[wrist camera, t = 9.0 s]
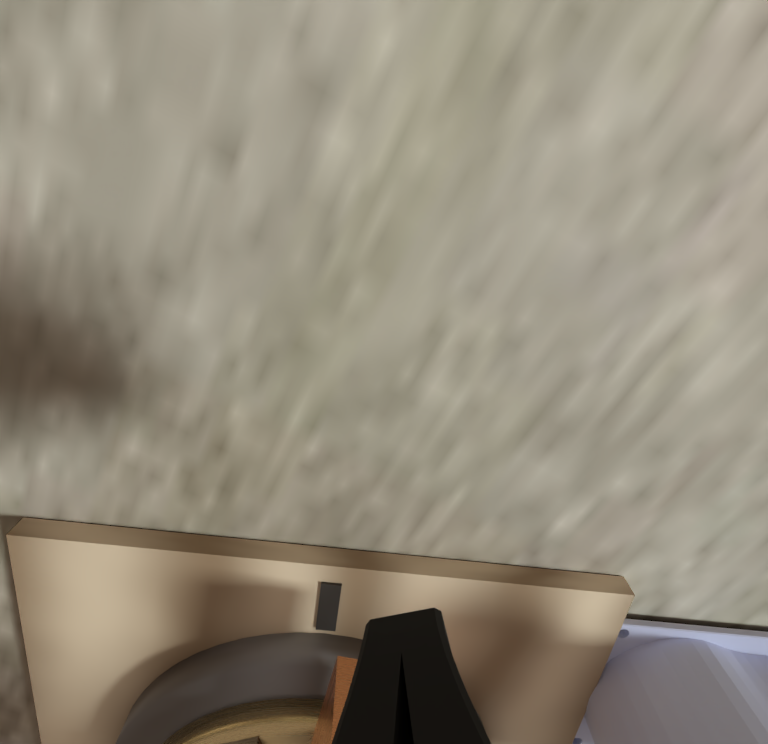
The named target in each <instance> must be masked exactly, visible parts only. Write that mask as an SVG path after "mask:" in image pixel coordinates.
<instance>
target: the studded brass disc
mask: <svg viewBox="0 0 768 744" xmlns="http://www.w3.org/2000/svg"><path fill="white" fill-rule="evenodd" d="M357 660H358V659H354V658H348V657H342V656H337V659H336V663H335V666H334V669H333V672H332V676H331V679H330V682H329V685H328V688H327V692H326V695H325V698H324V700H321V699H301V698H287V699H272V700H263V701H257V702H251V703H244V704H240V705H237V706H233V707H229V708H225V709H222V710H219V711H216V712H214V713H211V714H209V715H206V716H203V717H201V718H199V719H197V720H195V721H194V722H192V723H190V724H188V725H186V726H184V727H183V728H181V729H180V730H179V731H177V732H176V733H174V734H173V735H171V736H170V737H169V738H168V739H167V740H166V741H165V742H164V743H163V744H332V741H333V738H334V735H335V732H336V729H337V726H338V723H339V720H340V717H341V714H342V710H343V707H344V704H345V701H346V698H347V695H348V692H349V688H350V685H351V682H352V678H353V675H354V671H355V668H356V664H357Z"/></svg>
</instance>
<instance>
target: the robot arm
mask: <svg viewBox="0 0 768 744" xmlns="http://www.w3.org/2000/svg"><path fill="white" fill-rule="evenodd" d="M332 744H491V742H490V740H489V738H488V736H487V734H486V732H485V730H484V728H483V725H482V723H481V721H480V719H479V717H478V715H477V712H476V710H475V708H474V706H473V704H472V702H471V699H470V697H469V695H468V693H467V691H466V688H465V686H464V683H463V681H462V679H461V676H460V674H459V671H458V668H457V666H456V663H455V660H454V658H453V655H452V652H451V648H450V644H449V640H448V636H447V632H446V628H445V624H444V620H443V616H442V612H441V611H440V610H438V609H436V608H429V609H423V610H418V611H413V612H407V613H402V614H397V615H391V616H386V617H381V618H375V619H370V620H369V622H368V623H367V624H366V626H365V631H364V636H363V640H362V644H361V648H360V653H359V656H358V660H357V664H356V668H355V671H354V675H353V678H352V682H351V685H350V688H349V692H348V695H347V698H346V701H345V704H344V707H343V710H342V714H341V717H340V720H339V723H338V726H337V729H336V732H335V735H334V738H333V741H332ZM572 744H768V632H764V631H754V630H743V629H732V628H721V627H711V626H700V625H689V624H678V623H668V622H657V621H646V620H636V619H625V620H624V622H623V625H622V627H621V630H620V632H619V634H618V637H617V639H616V641H615V644H614V646H613V648H612V651H611V653H610V656H609V658H608V660H607V663H606V665H605V667H604V670H603V672H602V674H601V677H600V679H599V682H598V684H597V686H596V687H595V689H594V691H593V692H592V694H591V696H590V698H589V701H588V704H587V708H586V712H585V715H584V717H583V719H582V722H581V724H580V726H579V729H578V731H577V733H576V736H575V738H574V741H573V743H572Z"/></svg>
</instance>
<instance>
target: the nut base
mask: <svg viewBox="0 0 768 744" xmlns="http://www.w3.org/2000/svg"><path fill="white" fill-rule="evenodd" d="M6 537H7V543H8V549H9V555H10V561H11V567H12V573H13V579H14V585H15V591H16V596H17V602H18V608H19V614H20V620H21V626H22V632H23V638H24V644H25V650H26V656H27V662H28V668H29V674H30V680H31V686H32V692H33V697H34V703H35V709H36V715H37V721H38V727H39V733H40V739H41V744H163V743H164V742H165V741H166V740H167V739H168V738H169V737H170V736H171V735H173V734H174V733H176V732H177V731H179V730H180V729H181V728H183V727H184V726H186V725H188V724H190V723H192V722H194V721H195V720H197V719H199V718H201V717H203V716H206V715H209V714H211V713H214V712H216V711H219V710H222V709H225V708H229V707H233V706H237V705H240V704H244V703H251V702H257V701H263V700H272V699H287V698H301V699H321V700H324V698H325V695H326V692H327V688H328V685H329V682H330V679H331V676H332V672H333V669H334V666H335V663H336V659H337V656H342V657H348V658H354V659H358V656H359V653H360V648H361V644H362V640H363V636H364V631H365V626H366V624H367V623H368V622H369V620H370V619H375V618H381V617H386V616H391V615H397V614H402V613H407V612H413V611H418V610H423V609H429V608H436V609H438V610H440V611H441V612H442V616H443V620H444V624H445V628H446V632H447V636H448V640H449V644H450V648H451V652H452V655H453V658H454V660H455V663H456V666H457V668H458V671H459V674H460V676H461V679H462V681H463V683H464V686H465V688H466V691H467V693H468V695H469V697H470V699H471V702H472V704H473V706H474V708H475V710H476V712H477V715H478V717H479V719H480V721H481V723H482V725H483V728H484V730H485V732H486V734H487V736H488V738H489V740H490V742H491V744H572V743H573V741H574V738H575V736H576V733H577V731H578V729H579V726H580V724H581V722H582V719H583V717H584V715H585V712H586V708H587V704H588V701H589V698H590V696H591V694H592V692H593V691H594V689H595V687H596V686H597V684H598V682H599V679H600V677H601V674H602V672H603V670H604V667H605V665H606V663H607V660H608V658H609V656H610V653H611V651H612V648H613V646H614V644H615V641H616V639H617V637H618V634H619V632H620V630H621V627H622V625H623V622H624V620H625V618H626V615H627V613H628V611H629V608H630V606H631V604H632V601H633V599H634V597H635V595H634V593H633V591H632V590H631V588H630V586H629V585H628V583H627V581H626V580H625V578H624V577H622V576H612V575H602V574H592V573H581V572H571V571H561V570H551V569H541V568H531V567H521V566H511V565H501V564H490V563H480V562H470V561H460V560H450V559H440V558H430V557H420V556H410V555H399V554H389V553H379V552H369V551H359V550H349V549H339V548H329V547H318V546H308V545H298V544H288V543H278V542H268V541H258V540H248V539H238V538H227V537H217V536H207V535H197V534H187V533H177V532H167V531H157V530H147V529H136V528H126V527H116V526H106V525H96V524H86V523H76V522H66V521H55V520H45V519H35V518H25V517H23V518H22V519H21V520H20V521H19V522H18V523H17V524H16V525H15V526H14V527H13V528H12V529H11V530H10V531H9V532H8V533H7V534H6Z"/></svg>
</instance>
